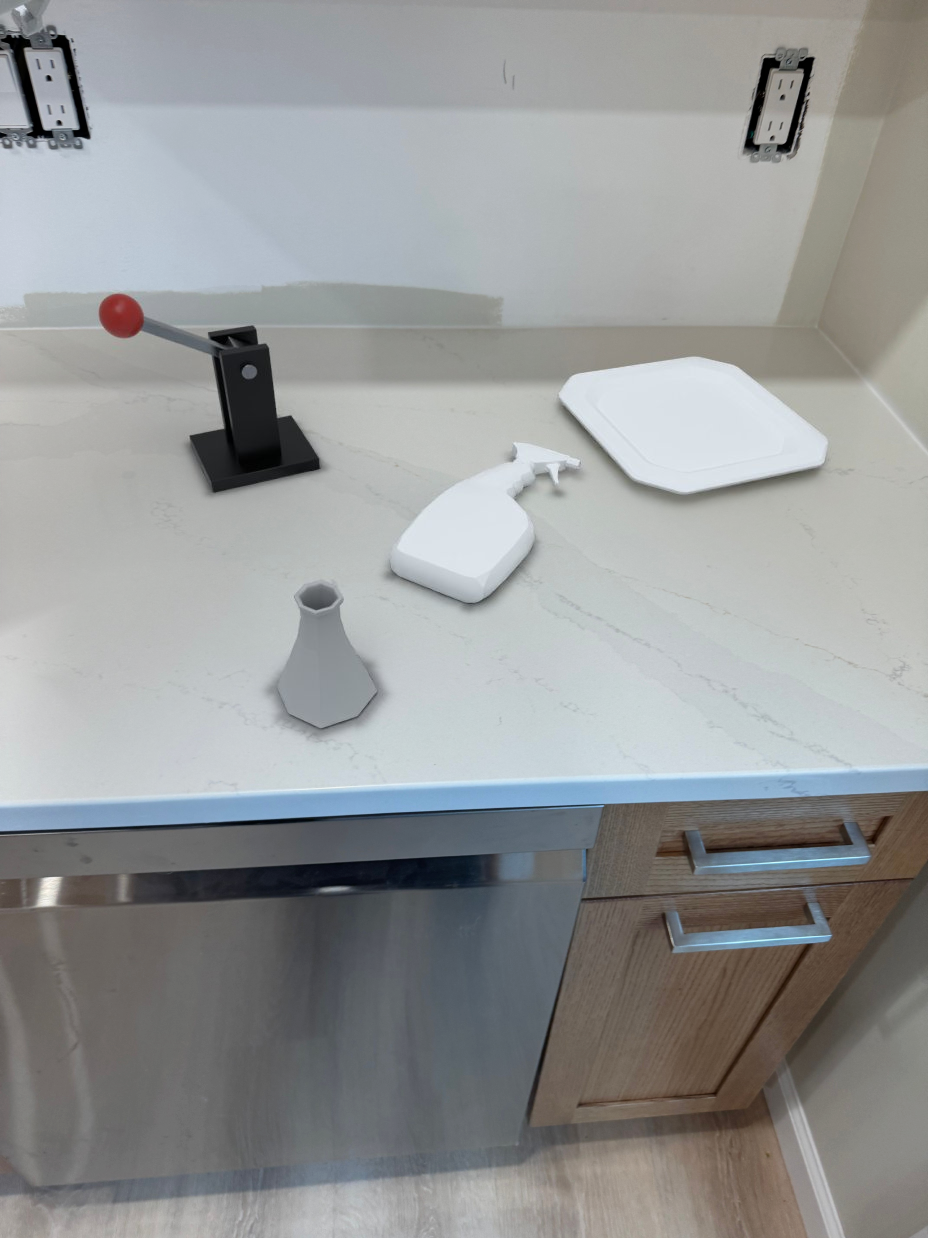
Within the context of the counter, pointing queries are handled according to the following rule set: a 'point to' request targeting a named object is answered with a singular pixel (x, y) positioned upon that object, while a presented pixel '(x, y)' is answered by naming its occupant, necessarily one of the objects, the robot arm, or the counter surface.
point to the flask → (323, 662)
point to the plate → (691, 424)
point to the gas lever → (152, 326)
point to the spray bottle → (476, 528)
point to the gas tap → (249, 421)
